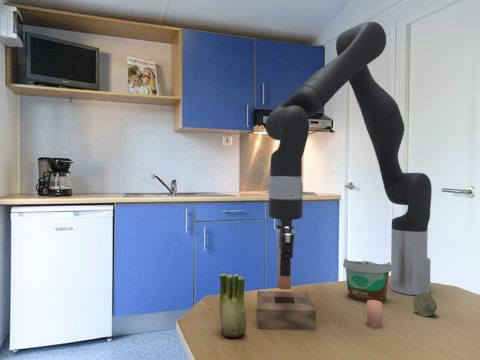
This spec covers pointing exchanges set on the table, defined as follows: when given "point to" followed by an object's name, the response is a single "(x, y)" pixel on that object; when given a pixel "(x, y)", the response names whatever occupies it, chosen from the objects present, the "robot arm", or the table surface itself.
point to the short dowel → (374, 314)
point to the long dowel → (283, 281)
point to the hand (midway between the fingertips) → (284, 273)
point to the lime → (425, 304)
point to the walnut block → (285, 310)
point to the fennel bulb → (232, 305)
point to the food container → (367, 280)
